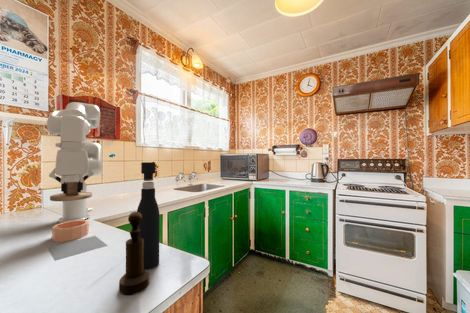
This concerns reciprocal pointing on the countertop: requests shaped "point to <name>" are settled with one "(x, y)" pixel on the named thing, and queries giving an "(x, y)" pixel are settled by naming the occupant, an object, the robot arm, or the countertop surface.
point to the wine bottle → (149, 218)
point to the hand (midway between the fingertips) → (72, 192)
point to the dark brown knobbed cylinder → (134, 260)
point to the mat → (75, 247)
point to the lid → (71, 193)
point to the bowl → (70, 230)
